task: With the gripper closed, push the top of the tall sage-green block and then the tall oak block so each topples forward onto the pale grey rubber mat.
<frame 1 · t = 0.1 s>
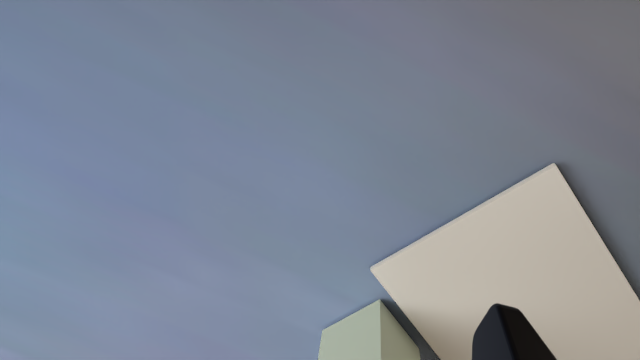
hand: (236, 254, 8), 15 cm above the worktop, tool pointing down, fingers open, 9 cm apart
mat: (546, 346, 26), on the worktop
sage block: (370, 339, 27), on the worktop
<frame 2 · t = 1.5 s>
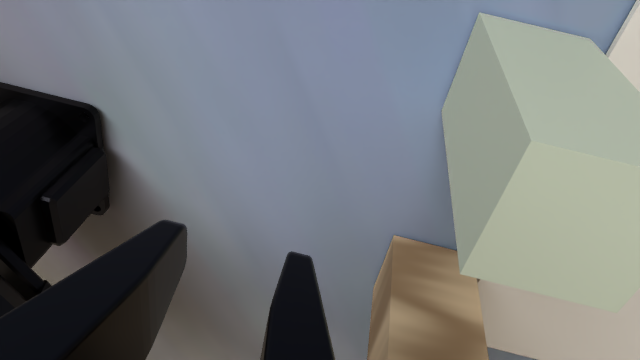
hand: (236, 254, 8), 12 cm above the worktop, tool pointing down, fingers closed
oak block: (420, 272, 24), on the worktop
mat: (635, 233, 21), on the worktop
sage block: (510, 77, 18), on the worktop
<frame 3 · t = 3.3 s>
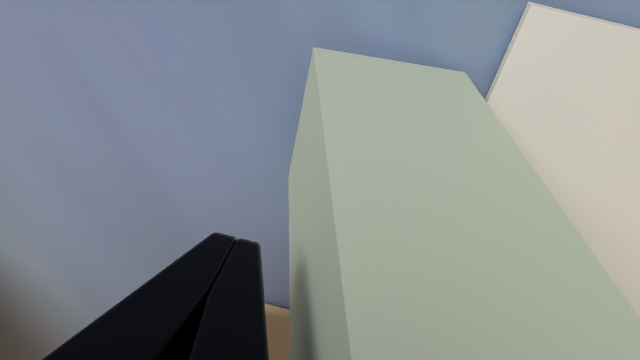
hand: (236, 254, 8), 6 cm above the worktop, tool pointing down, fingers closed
oak block: (304, 344, 20), on the worktop
mat: (552, 310, 17), on the worktop
sage block: (371, 127, 13), on the worktop, tilted 12°
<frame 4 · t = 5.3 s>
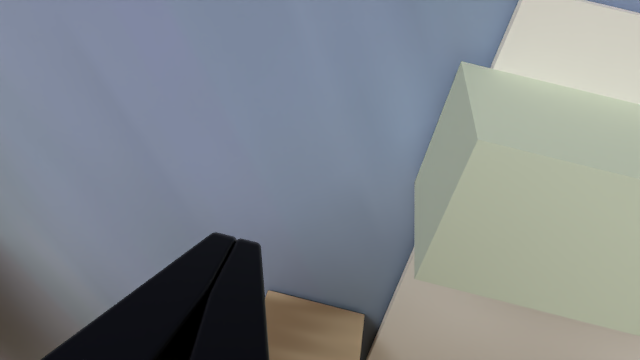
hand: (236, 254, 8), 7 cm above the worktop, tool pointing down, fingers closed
oak block: (308, 331, 20), on the worktop
mat: (552, 296, 17), on the worktop
sage block: (438, 166, 12), point 2 cm above the worktop, tilted 90°, touching mat
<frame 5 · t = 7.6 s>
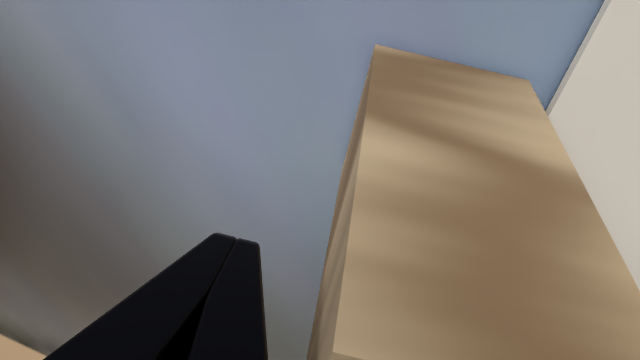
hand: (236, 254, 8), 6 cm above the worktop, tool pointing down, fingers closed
oak block: (426, 129, 13), on the worktop, touching gripper
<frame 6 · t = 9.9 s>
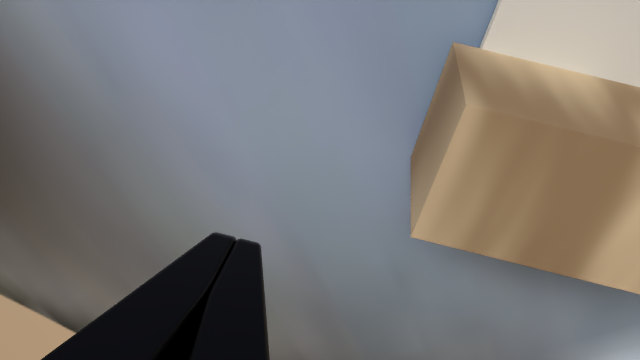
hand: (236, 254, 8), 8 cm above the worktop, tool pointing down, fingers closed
oak block: (432, 136, 13), point 2 cm above the worktop, tilted 90°, touching mat
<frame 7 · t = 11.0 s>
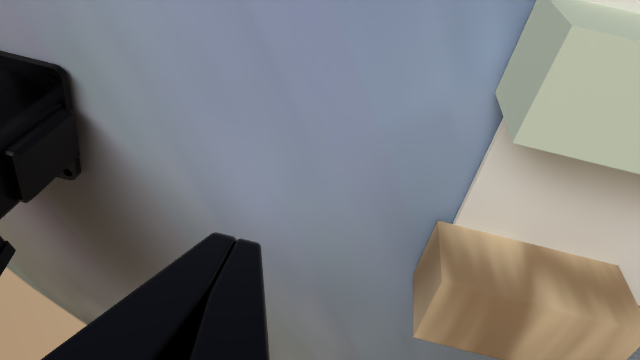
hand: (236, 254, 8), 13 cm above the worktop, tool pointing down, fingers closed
oak block: (425, 277, 23), point 2 cm above the worktop, tilted 90°, touching mat
mat: (595, 191, 21), on the worktop
sage block: (527, 64, 16), point 2 cm above the worktop, tilted 90°, touching mat
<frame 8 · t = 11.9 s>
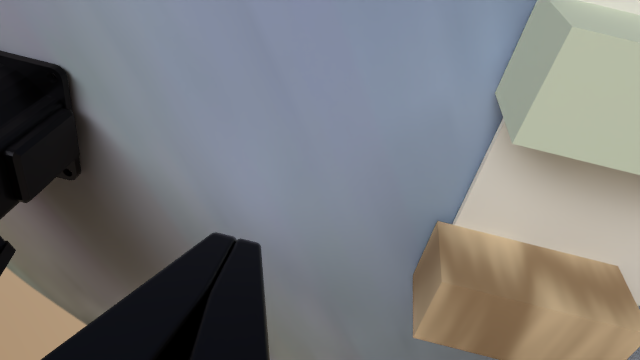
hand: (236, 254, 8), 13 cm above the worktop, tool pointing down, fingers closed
oak block: (425, 278, 23), point 2 cm above the worktop, tilted 90°, touching mat
mat: (595, 192, 21), on the worktop
sage block: (527, 65, 16), point 2 cm above the worktop, tilted 90°, touching mat
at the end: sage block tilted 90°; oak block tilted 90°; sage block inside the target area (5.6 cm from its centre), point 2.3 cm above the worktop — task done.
